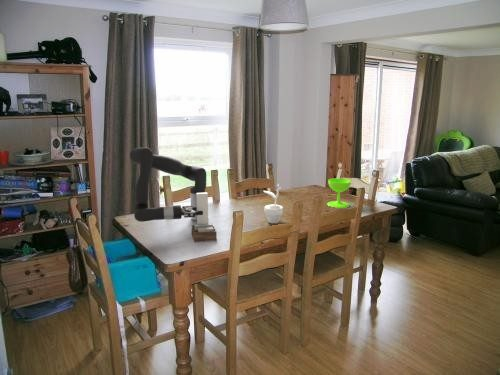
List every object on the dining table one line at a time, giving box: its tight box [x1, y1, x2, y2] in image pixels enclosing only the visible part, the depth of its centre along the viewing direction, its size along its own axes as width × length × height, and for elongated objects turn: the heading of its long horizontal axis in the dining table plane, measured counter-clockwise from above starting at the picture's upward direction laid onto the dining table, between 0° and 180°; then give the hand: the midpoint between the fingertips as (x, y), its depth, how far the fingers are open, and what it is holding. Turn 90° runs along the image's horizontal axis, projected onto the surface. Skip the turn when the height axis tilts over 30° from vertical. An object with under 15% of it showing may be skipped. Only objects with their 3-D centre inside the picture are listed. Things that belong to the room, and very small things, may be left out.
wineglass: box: [326, 177, 352, 209], centre depth 276 cm, size 16×16×18 cm
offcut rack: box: [191, 224, 217, 243], centre depth 215 cm, size 14×12×5 cm
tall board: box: [196, 191, 209, 225], centre depth 216 cm, size 2×6×22 cm, turn 104°
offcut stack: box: [193, 223, 214, 232], centre depth 212 cm, size 7×10×5 cm, turn 104°
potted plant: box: [263, 182, 284, 224], centre depth 238 cm, size 13×12×25 cm
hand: (202, 210), depth 216 cm, fingers open, 8 cm apart
